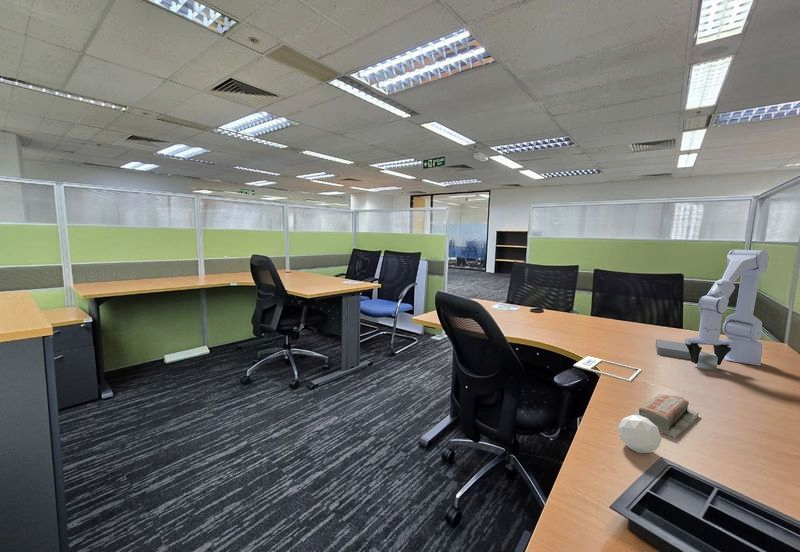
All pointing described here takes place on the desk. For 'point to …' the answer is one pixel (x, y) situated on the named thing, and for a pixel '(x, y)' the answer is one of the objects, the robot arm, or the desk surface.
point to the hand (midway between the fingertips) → (705, 363)
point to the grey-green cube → (707, 361)
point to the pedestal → (672, 349)
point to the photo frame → (592, 362)
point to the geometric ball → (639, 434)
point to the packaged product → (668, 414)
